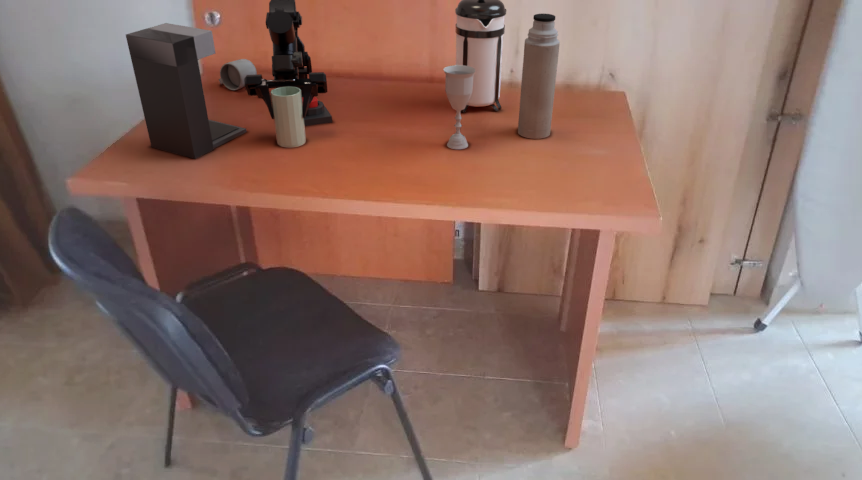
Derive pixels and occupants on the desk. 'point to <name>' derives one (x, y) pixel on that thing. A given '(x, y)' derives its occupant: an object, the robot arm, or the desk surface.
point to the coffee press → (481, 47)
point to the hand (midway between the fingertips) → (288, 117)
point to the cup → (288, 116)
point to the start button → (312, 103)
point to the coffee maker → (176, 89)
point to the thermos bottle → (538, 78)
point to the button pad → (317, 115)
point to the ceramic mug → (236, 73)
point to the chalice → (458, 98)
